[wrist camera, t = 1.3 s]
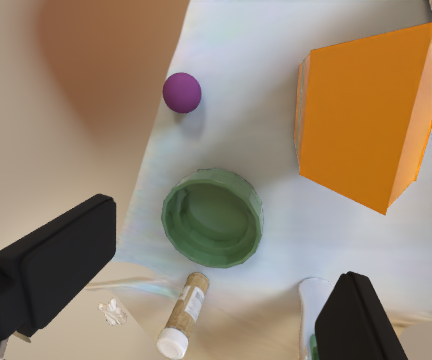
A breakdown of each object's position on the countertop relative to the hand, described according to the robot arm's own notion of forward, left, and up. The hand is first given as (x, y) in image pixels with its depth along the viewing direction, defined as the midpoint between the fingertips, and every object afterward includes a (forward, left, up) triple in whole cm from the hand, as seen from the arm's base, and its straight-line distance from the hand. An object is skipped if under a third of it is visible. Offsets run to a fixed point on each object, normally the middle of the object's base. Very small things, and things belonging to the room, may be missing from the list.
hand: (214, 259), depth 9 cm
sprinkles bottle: (+31, -4, -25) cm, 40 cm away
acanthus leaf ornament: (+52, -23, -25) cm, 62 cm away
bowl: (+14, -4, -25) cm, 29 cm away
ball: (-3, -12, -25) cm, 28 cm away
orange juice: (-6, +6, -25) cm, 27 cm away
